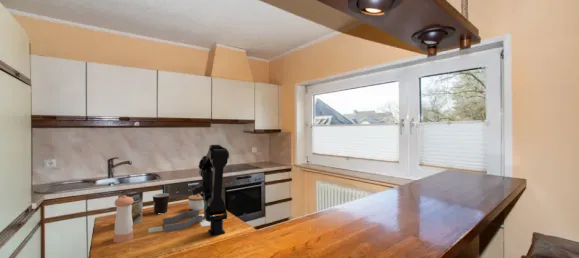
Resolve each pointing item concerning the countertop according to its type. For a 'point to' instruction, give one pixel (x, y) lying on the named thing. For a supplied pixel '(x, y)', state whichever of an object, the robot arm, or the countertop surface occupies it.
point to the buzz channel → (181, 225)
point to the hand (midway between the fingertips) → (207, 208)
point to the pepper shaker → (123, 220)
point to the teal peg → (205, 208)
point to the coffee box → (135, 205)
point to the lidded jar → (196, 202)
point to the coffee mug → (160, 202)
